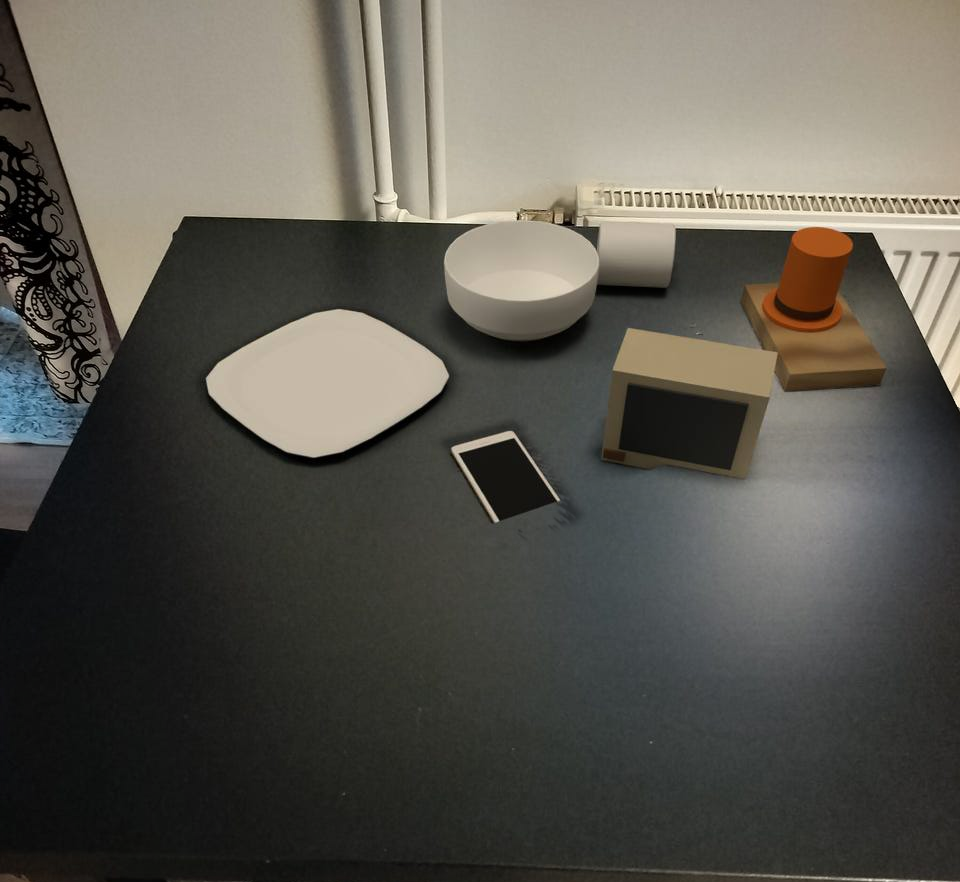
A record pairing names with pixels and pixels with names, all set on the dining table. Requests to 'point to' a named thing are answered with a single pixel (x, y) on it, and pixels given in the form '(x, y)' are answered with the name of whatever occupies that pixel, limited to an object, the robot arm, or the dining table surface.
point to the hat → (810, 281)
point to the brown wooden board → (815, 348)
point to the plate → (326, 382)
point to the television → (686, 403)
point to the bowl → (521, 278)
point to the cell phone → (504, 475)
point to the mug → (635, 254)
